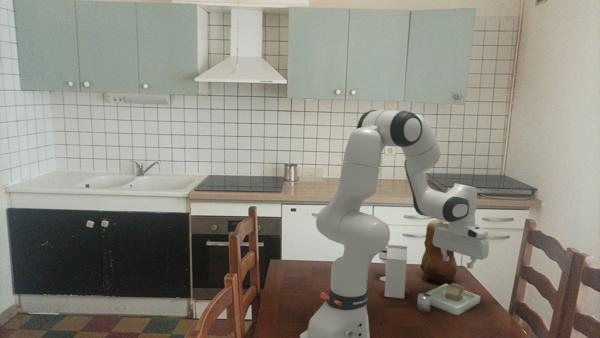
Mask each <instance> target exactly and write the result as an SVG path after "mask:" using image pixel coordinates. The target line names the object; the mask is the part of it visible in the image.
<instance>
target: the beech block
mask: <svg viewBox="0 0 600 338" xmlns="http://www.w3.org/2000/svg"><path fill="white" fill-rule="evenodd" d="M464 290H465V286H462V285H461V284H460V285H459V284H457V283H454V282H452V283H450V284H448V285H447V286H446V295H445V298H448V299H450V300H453V301H455V302H457V301H459V300H461V299H463V293H464Z"/></svg>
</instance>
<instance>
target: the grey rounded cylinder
mask: <svg viewBox="0 0 600 338" xmlns="http://www.w3.org/2000/svg"><path fill="white" fill-rule="evenodd" d="M426 293H427V292H425V293H424V292H420V293H418V294H417V300H416V301H417V303H416V309H417V311H418V312H422V313H429V312H431V305H430V303H431V296H430V295H429V294H426Z"/></svg>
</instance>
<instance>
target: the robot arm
mask: <svg viewBox="0 0 600 338" xmlns="http://www.w3.org/2000/svg"><path fill="white" fill-rule="evenodd" d="M385 147H400V148H401V150H402V153H403V155H404V157H405V160H404V169H405V173H406V177H407V181H408V184H409V187H410V191H411V195H412V204H413V208H414V209H415V212H416V213H417V214H418V215H420V216H425V217H430V218H433V219H435V220H442V221H446V222H449V224H445V223H442V222H439V223H437V224H436V225H435V232H434V236H433V245H434V246H436V247H439V248H441V252H442V254H443V260H444V261H449V256H448V255H447V253H446V251H447V250H450V251H453V252H454V253H457V254H461V255H464V256H466V257H470V260H471V261H470V262H467V263H466V268H467V269H470V270H471V269H474V264H475V263H476V262H477V260H480V261H483V260H486V259H487V258H488V256H489V253H490V250H489V249H490V245H489V239H488V235H489V231H488V230H487V229H485V228H483V227H482V226H480V225H478V224H477V223H476V218H475V214H476V210H477V206H478V190H477V188H476V187H475V186H474V185H472V184H469V183H464V182H454V183H453V187H452V188H451V189H449V190H447V191H446V192H443V191H439V190H435V189H433V188H431V187H430V186H429V185H428V181H427V177H426V175H425V172H428V171H429V170H431V169H433V168H434V167H435V166H436V165H437V163H438V162H439V161H440V159H441V149H440V148H441V147H440V146H439V142H438V140H437V138H436V136H435V134H434V131H433V130H432V128H431V126H430V125H429V123H428V121H427V120H426V119H425V117H423V115H421V114H419V113H414V112H411V111H407V110H395V109H394V110H393V109H387V108H386V109H379V110H378V109H372V110H369V111H365V112H364V113H363V114H361V116H360V117H359V120H358V122H357V127H356V128H355V129H354V130H353V131H352V132H351V133H350V135H349V138H348V141H347V143H346V147H345V151H344V156H343V160H342V161H343V162H342V166H341V172H340V173H341V174H340V179H339V183H338V186H337V189H336V192H335V194H334V196H333V197H332V199H331V201H330V202H329V203H328V204H327V205H326V206H324V207H322V208H321V209H320V210H319V212H318V213H317V215H316V221H315V225H316V226H315V227H316V229H317V231H318V233H320V234H321V235H323V237H325V238H326V239H328V240H330V241H332V242H335V243H337V244H340V245H343V248H344V250H343V254H342V256H340V257H338V258H336V259H335V260H334V261H333V262H332V264H331V266H330V267H331V268H330V269H331V270H330V286H329V287H328V290H327V293H326V292H325V291H322V292H320V294H319V298H320V299H321V300H324V302H323V304H322V305H321V306H320V307H319V308H318V310H317V311H316V312H314V314H313V316H311V317H310V320H309V322H308V325H307V326H308V327H307V329H306V330H305V331H303V332H302V333H300V335H299V338H371V337H370V336H371V333H370V325H369V323H370V322H369V315H368V314H369V313H368V309H367V304H368V301H369V290H368V287H367V286H368V278H369V277H368V276H369V270H370V265H371V262H372V261H373V259H374V258H375V257H376V256H377V255H379V253H380V252H382V251H383V250H384V249H385V248H387V245H389V242H390V238H391V232H390V227H389V225H388V224H387V223H386V222H385V221H383V220H382V219H380V218H379V217H377V216H375V215H372V214H368V213H365V212H362V211H360V210H361V207H362V204H363V203H364V201H365V200H367V199H370V198H371V197H372V196H374V195H375V193H376V191H377V188H378V182H379V175H380V170H381V163H382V152H383V150H384V148H385ZM438 224H439V225H438Z"/></svg>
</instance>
